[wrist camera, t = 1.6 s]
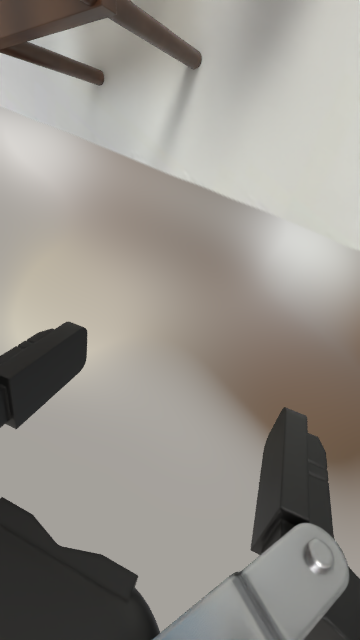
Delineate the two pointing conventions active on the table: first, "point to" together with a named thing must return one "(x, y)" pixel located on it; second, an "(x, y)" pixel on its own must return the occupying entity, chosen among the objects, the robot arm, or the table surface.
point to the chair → (74, 10)
